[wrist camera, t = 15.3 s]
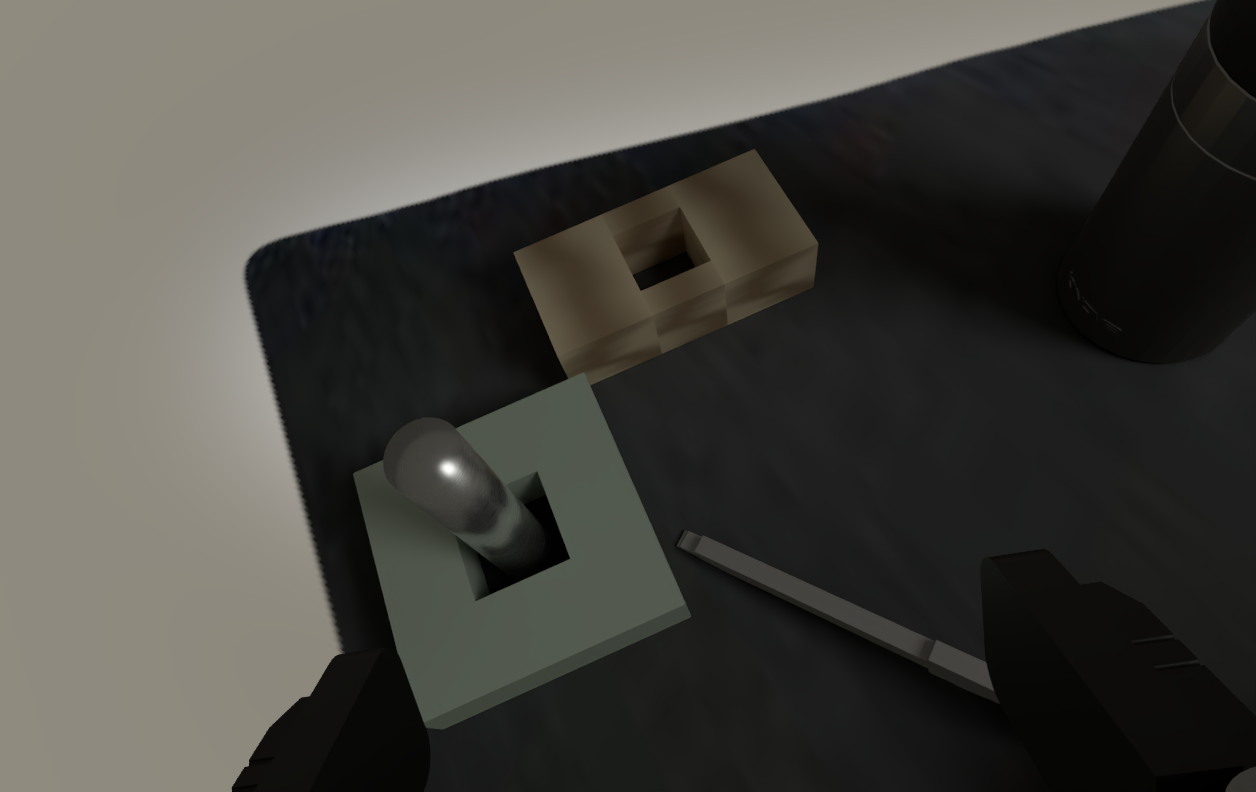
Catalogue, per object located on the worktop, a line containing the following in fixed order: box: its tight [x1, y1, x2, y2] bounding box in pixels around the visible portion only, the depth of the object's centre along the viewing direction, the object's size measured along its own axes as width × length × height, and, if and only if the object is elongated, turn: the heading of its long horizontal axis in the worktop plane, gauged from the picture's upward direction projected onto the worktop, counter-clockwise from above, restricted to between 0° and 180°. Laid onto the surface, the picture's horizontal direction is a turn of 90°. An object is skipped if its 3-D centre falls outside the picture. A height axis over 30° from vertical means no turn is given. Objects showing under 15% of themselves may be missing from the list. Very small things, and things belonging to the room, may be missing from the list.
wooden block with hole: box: [513, 149, 818, 385], centre depth 47 cm, size 16×8×4 cm, turn 112°
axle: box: [383, 418, 555, 581], centre depth 37 cm, size 3×3×15 cm
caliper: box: [677, 530, 1000, 704], centre depth 36 cm, size 20×1×6 cm, turn 60°
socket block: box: [353, 372, 691, 729], centre depth 42 cm, size 14×14×4 cm
